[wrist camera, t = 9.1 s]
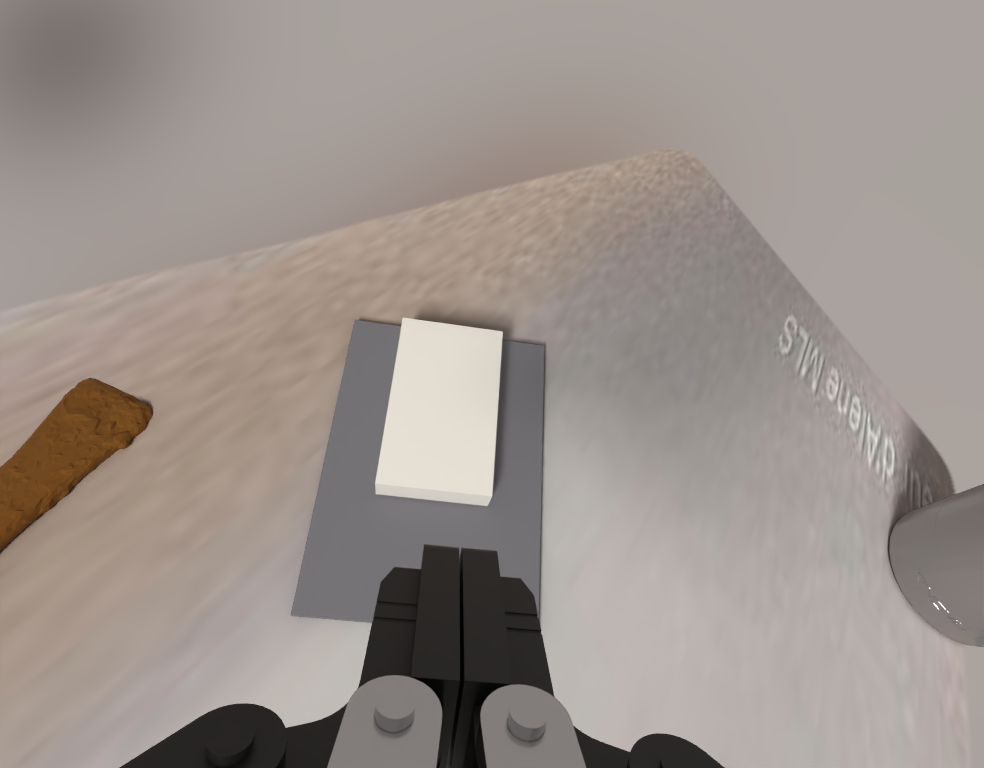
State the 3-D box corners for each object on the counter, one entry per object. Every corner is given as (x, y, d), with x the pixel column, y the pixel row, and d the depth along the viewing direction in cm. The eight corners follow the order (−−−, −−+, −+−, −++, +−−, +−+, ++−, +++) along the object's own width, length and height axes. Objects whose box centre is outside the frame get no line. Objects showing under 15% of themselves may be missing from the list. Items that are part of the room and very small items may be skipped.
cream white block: (375, 494, 36) (402, 334, 42) (487, 506, 37) (497, 347, 43) (374, 483, 34) (402, 317, 40) (492, 496, 35) (502, 331, 41)
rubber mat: (355, 324, 43) (354, 319, 42) (542, 350, 44) (544, 345, 44) (292, 615, 33) (290, 614, 32) (536, 636, 34) (538, 635, 34)
